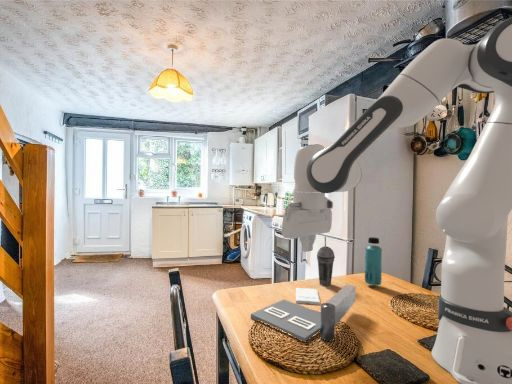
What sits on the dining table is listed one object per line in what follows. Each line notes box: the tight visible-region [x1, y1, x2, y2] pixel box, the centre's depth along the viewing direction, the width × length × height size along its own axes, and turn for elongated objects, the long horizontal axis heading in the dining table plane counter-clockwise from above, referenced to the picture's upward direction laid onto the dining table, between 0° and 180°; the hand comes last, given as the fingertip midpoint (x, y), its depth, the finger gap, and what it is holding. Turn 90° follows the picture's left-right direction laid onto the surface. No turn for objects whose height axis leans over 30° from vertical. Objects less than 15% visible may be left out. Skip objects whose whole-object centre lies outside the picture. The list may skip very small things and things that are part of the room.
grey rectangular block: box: [319, 284, 357, 341], centre depth 79 cm, size 23×4×8 cm, turn 146°
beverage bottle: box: [364, 236, 383, 286], centre depth 112 cm, size 6×7×20 cm
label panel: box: [250, 299, 321, 343], centre depth 81 cm, size 19×16×2 cm
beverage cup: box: [316, 235, 336, 287], centre depth 114 cm, size 7×7×20 cm
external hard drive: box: [295, 287, 321, 306], centre depth 100 cm, size 2×8×12 cm
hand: (307, 250), depth 78 cm, fingers closed
